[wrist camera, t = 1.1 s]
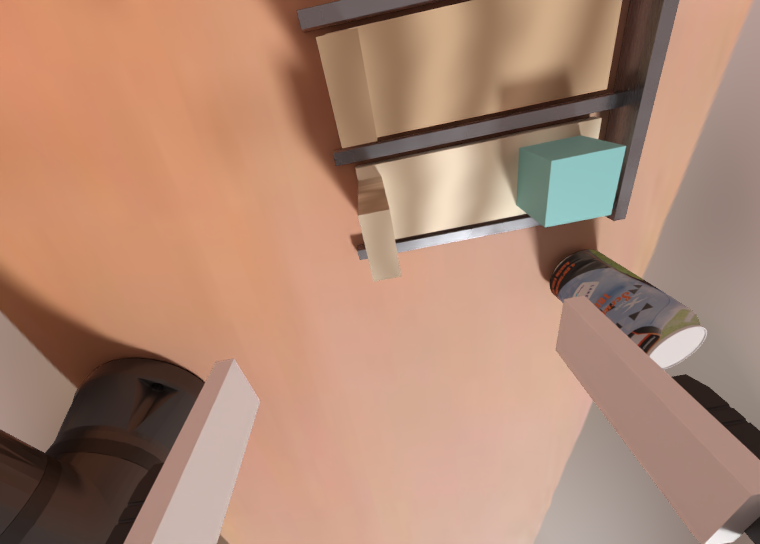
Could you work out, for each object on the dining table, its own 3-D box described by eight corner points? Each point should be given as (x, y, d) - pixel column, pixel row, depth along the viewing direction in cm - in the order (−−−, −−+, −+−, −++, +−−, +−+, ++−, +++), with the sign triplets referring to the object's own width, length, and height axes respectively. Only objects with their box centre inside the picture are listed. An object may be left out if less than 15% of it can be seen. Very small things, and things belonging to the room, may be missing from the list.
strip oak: (349, 141, 25) (346, 166, 18) (326, 35, 22) (309, 9, 14) (598, 88, 24) (708, 91, 17) (617, -31, 21) (769, -98, 13)
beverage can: (554, 243, 32) (647, 319, 22) (620, 245, 32) (741, 320, 22) (534, 293, 35) (607, 380, 25) (595, 294, 36) (690, 379, 25)
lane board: (359, 254, 31) (360, 269, 29) (299, 14, 21) (291, 4, 19) (602, 207, 30) (625, 218, 27) (658, -69, 20) (701, -92, 18)
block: (516, 205, 28) (544, 227, 24) (519, 147, 25) (551, 161, 21) (572, 194, 28) (610, 214, 24) (580, 135, 25) (626, 145, 21)
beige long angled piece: (371, 239, 30) (376, 293, 22) (355, 166, 26) (354, 200, 19) (580, 198, 29) (660, 239, 21) (593, 116, 25) (695, 131, 18)
